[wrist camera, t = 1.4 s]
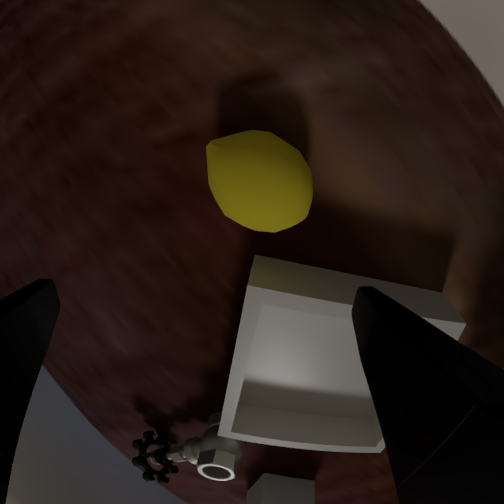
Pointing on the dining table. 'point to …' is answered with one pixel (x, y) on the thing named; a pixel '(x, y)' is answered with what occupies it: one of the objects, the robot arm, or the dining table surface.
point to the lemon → (259, 180)
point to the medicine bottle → (281, 490)
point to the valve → (191, 454)
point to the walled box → (310, 358)
